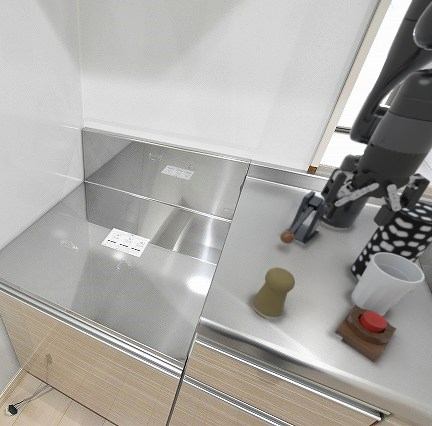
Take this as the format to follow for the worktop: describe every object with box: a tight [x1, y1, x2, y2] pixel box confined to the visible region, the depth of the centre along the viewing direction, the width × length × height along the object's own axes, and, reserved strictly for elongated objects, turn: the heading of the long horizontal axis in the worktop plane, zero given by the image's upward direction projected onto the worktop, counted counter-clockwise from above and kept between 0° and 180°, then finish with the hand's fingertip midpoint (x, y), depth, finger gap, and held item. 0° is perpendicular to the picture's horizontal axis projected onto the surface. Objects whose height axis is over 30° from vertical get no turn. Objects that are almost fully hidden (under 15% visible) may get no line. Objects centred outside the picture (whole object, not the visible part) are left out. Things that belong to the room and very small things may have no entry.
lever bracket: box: [285, 190, 328, 245], centre depth 79 cm, size 8×6×13 cm
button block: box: [334, 304, 397, 363], centre depth 57 cm, size 9×7×4 cm
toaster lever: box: [279, 195, 324, 245], centre depth 75 cm, size 15×3×3 cm, turn 128°
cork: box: [252, 267, 296, 320], centre depth 61 cm, size 6×6×11 cm
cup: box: [351, 252, 425, 317], centre depth 60 cm, size 8×8×12 cm
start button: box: [359, 311, 388, 333], centre depth 56 cm, size 4×4×2 cm
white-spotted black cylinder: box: [350, 200, 432, 281], centre depth 64 cm, size 8×8×20 cm
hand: (352, 221), depth 57 cm, fingers open, 8 cm apart
